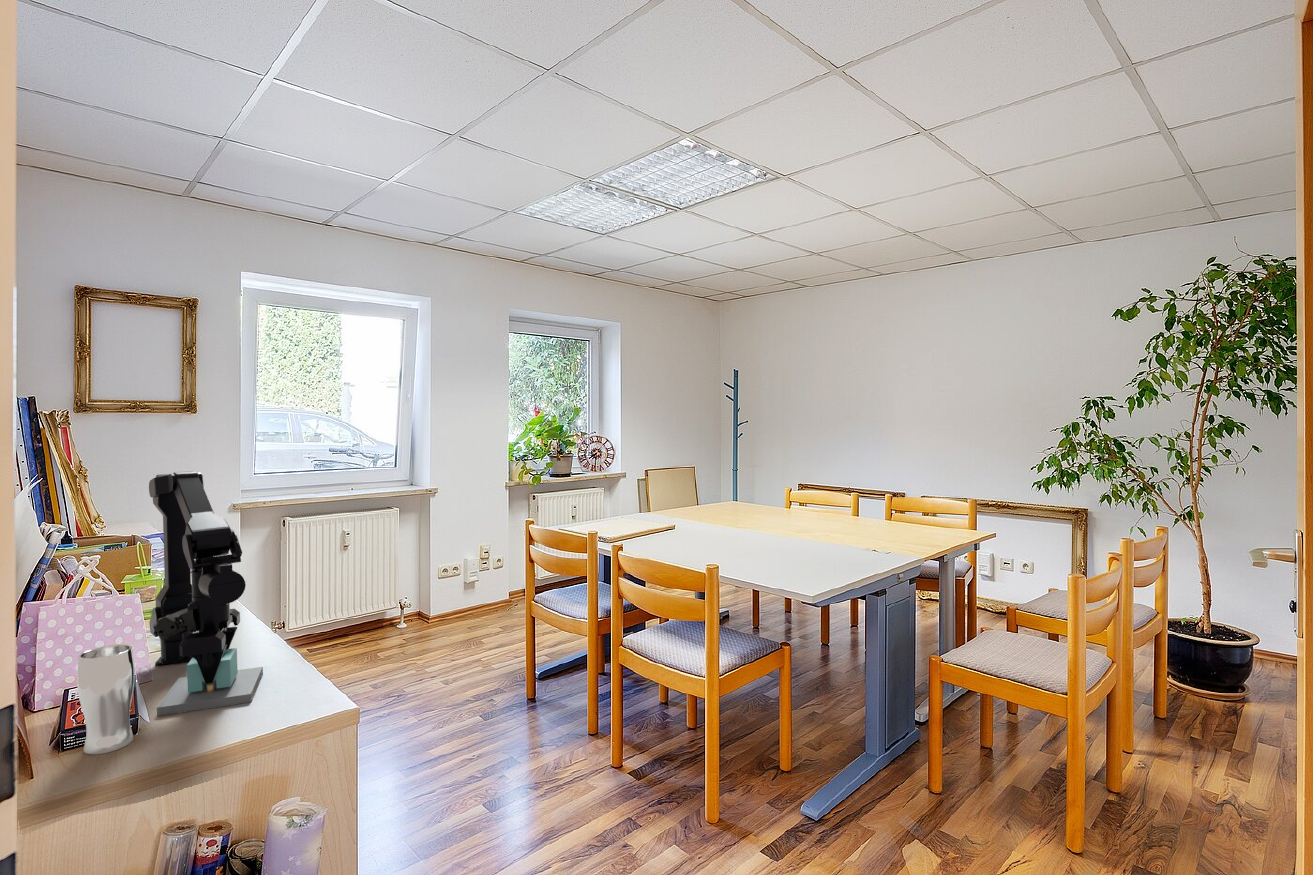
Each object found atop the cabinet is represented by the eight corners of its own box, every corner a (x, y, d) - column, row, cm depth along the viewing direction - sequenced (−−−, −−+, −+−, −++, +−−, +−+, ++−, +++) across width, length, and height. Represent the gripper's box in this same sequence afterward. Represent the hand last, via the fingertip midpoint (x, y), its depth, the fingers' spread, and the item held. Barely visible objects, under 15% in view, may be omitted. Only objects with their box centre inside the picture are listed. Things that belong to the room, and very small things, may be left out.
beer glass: (90, 761, 99) (86, 662, 99) (72, 748, 103) (68, 653, 103) (144, 741, 105) (141, 648, 105) (126, 730, 109) (123, 640, 108)
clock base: (178, 685, 127) (177, 657, 127) (262, 674, 132) (262, 646, 132) (157, 716, 114) (155, 684, 114) (251, 701, 120) (250, 671, 119)
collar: (237, 673, 128) (236, 647, 127) (230, 686, 121) (230, 659, 121) (196, 679, 125) (195, 652, 125) (187, 692, 119) (186, 665, 119)
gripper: (172, 585, 128) (174, 665, 129) (141, 612, 111) (144, 704, 111) (239, 579, 132) (241, 656, 133) (219, 604, 115) (222, 692, 116)
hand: (213, 676), depth 123 cm, fingers closed on collar, 6 cm apart
